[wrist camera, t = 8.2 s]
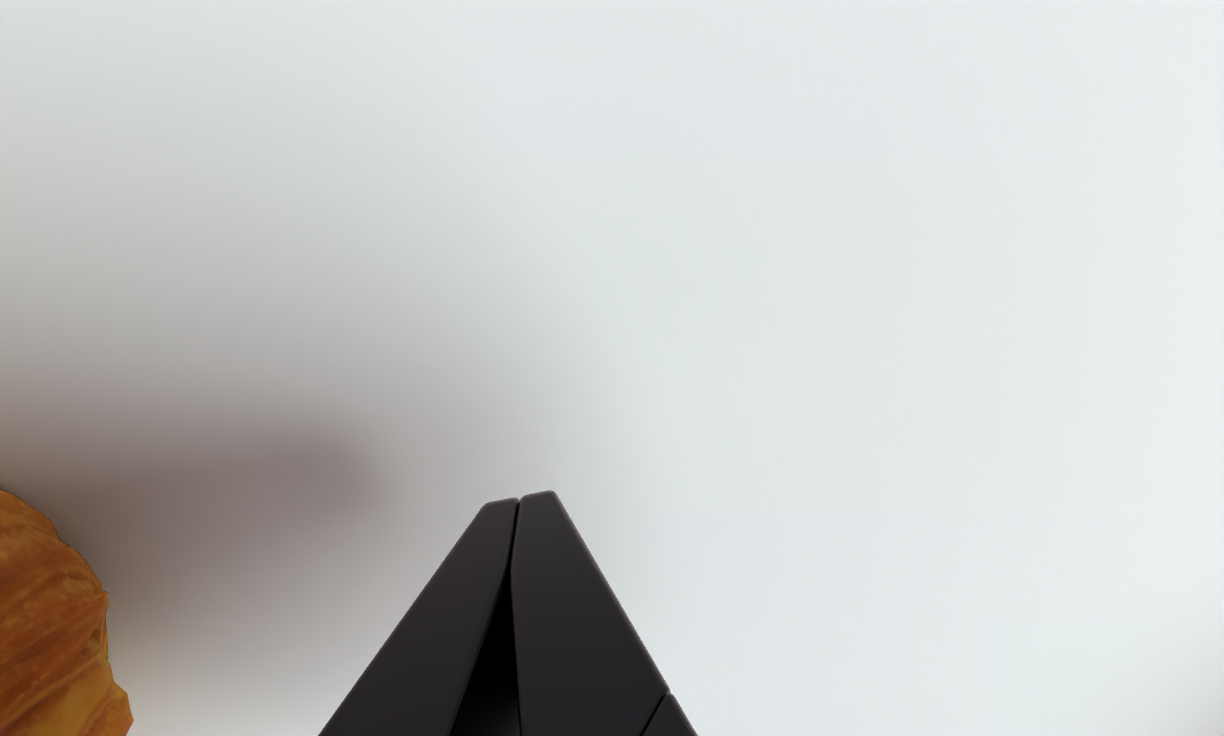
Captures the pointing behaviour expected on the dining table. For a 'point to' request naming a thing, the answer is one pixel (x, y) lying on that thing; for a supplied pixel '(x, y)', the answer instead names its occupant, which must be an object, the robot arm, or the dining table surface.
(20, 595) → the croissant
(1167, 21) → the dining table surface
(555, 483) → the dining table surface
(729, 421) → the dining table surface
